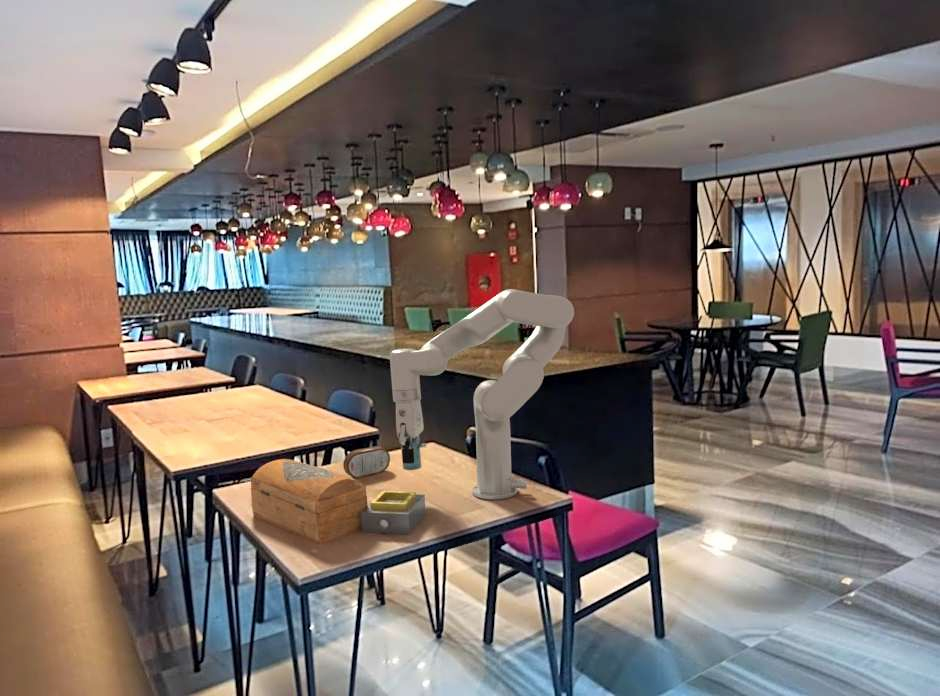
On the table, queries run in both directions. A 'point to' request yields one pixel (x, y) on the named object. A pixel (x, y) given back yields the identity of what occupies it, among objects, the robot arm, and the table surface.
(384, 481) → the table surface
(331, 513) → the wooden box
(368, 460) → the tin
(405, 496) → the grey yellow box
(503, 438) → the robot arm
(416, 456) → the spout can
